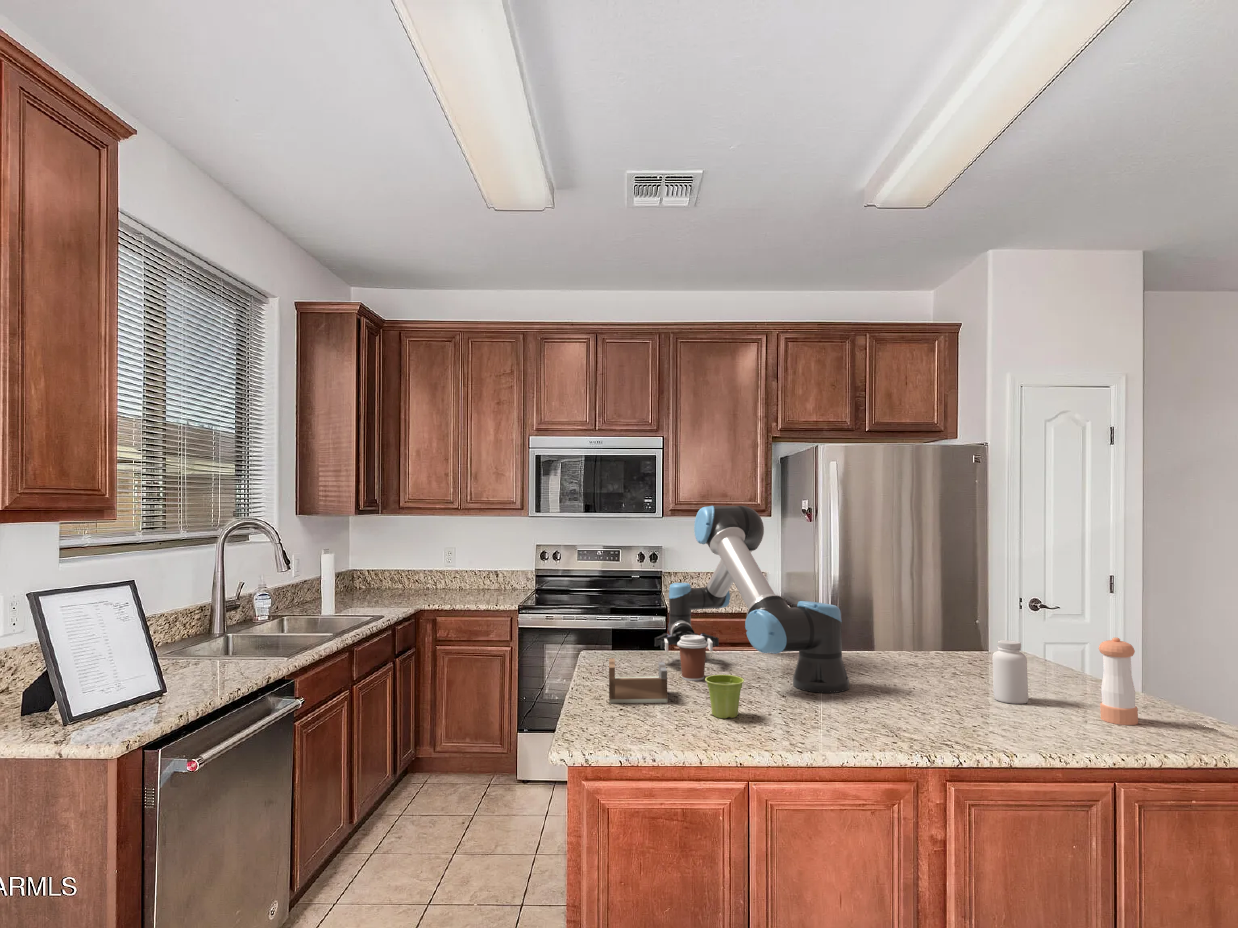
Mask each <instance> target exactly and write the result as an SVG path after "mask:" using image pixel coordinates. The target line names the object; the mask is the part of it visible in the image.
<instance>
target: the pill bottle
mask: <svg viewBox="0 0 1238 928" xmlns="http://www.w3.org/2000/svg"><path fill="white" fill-rule="evenodd" d="M1021 643H1022V642H1020V641H1017V640H1009V639H999V640H998V641H997V649H998V650H996V651H994V652H993V654H992V657H991V658H992V683H993V684H992V687H993V688H992V689H993V699H994V700H996V701H998V702H1001V703H1006V704H1013V705H1017V704H1018V705H1020V704H1021V705H1022V704H1026V703H1027V704H1028V703H1029V681H1028V678H1029V677H1028V659H1027V656H1026V655H1025V654H1024V652H1021V651H1022V644H1021Z"/></svg>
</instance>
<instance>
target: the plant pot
mask: <svg viewBox="0 0 1238 928" xmlns="http://www.w3.org/2000/svg"><path fill="white" fill-rule="evenodd" d="M704 681H705V682H706V684H707V688H708V692H709V693H708V695H709V700H710V702H709V703H710V708H711V715H713V716H714V717H715V718H719V719H727V718H731V719H734V718H736V717H738V714H739V705H740V698H741V690H742V688H743V683H744V682H745V679H744V678H743V677H740V676H738V675H732V674H713V675H708V676H706V677H704Z"/></svg>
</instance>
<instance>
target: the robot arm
mask: <svg viewBox="0 0 1238 928" xmlns="http://www.w3.org/2000/svg"><path fill="white" fill-rule="evenodd" d="M693 530H694V532H693V533H694V537H695V539H696V541H697V543H698V544H702V545H708V547H709V550H710V551H711V553H713V554H714V555H718V556H719V558H720V561H719V563H718V564H717V565H716V568H715V570H714V571H713V573H712V575H711V577H710V579H709V580H708V583H706V586H705V587H692V585H691V584H690V583H689V582H673V583H671V584H669V589H668V606H669V607H668V609H669V613H668V621H669V622H668V632H669V633H667V632H663V633H662V634H661V635H659V636H656V637H654V647H656V648H657V647H659V646H660V650H665V652H667V653H668V652H669V646H671V645H676V646H677V642H679V640H681V636H684V635H699V634H698V633H695V630H694V628H693V627H692V617H691V616H692V611H696V610H712V609H713V610H714V609H715V610H717V609H722V608H723V609H724V608H727V607H728V606H729V604H730V603H731V602H730V600H731V593H730V589H731V587H732V585H735V587H736V589H737V591H738V593H739V594H740V596H741V598H742V600H743V602H744V604H745V605H746V607H747V611H746V618H745V623H744V624H745V625H744V628H745V630H746V632H745V634H746V637H747V639H748V641H749V643H750V645H751V646H752V648H754V649H755V650H756V651H758V652H760V653H763V654H774V655H775V654H777V655H778V654H780V653H786V652H787V653H788V652H798V660H797V663H796V665H795V666H796V667H795V670H794V674H793V676H792V686H793V687H794V688H797V689H798V690H802V691H806V692H813V693H828V694H829V693H840V692H841V693H842V692H844V691H845V692H846V691H847V690H849V689H850V678H849V677H848V674H847V673H848V672H847V671H846V668H845V664H844V661H843V652H842V651H843V647H842V645H843V644H842V623H843V622H842V613H841V612H842V611H841V609H840V608H839V606H837V605H835V604H829V603H824V602H819V601H817V602H816V601H809V600H808V601H807V600H800V601H797V607H794V606H793V607H791V606H789V605H788V603H787V602H786V600H785V599H784V597H782V596H781V595H778V594H775V592H774V590H773V588H772V587H771V585H770V583H769V582H768V579H766V576H765V575H764V573H763V572H762V570H761V568H760V567H759V565H758V563H757V562H756V560H755V558H754V557H753V555H752V552H754V551H756V550H757V549H759V547H760V544H761V542H762V541H763V538H764V533H765V527H764V522H763V520H762V517H761V516H760V515H759V513H758V512H757V511H756V510H755V509H753V508H751V507H749V506H745V505H709V506H703V507H701V508H700V509H699V510H698V511H697V513H696V516H695V519H694V529H693ZM700 635H701V636H704V637H705V640H706V642H708V646H707V649H708V650H709V651H710V652H713V651H714V649H713V648H715V647H719V645H720V644H719V642H720V641H719V637H716V636H713V635H711V634H710V635H709V634H707V633H705V632H701V633H700Z"/></svg>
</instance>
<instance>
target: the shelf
mask: <svg viewBox="0 0 1238 928" xmlns="http://www.w3.org/2000/svg"><path fill="white" fill-rule="evenodd" d="M615 660H616V659H615V657H614V658H608V690H609V691H608V692H609V693H608V702H609V704H648V703H649V704H651V703H652V704H657V703H659V704H660V703H665V704H667V703H668V669H667V666H666V664H665V661H658V675H655V676H650V675H649V676H645V675H644V676H616V666H615V665H616V661H615Z"/></svg>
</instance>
